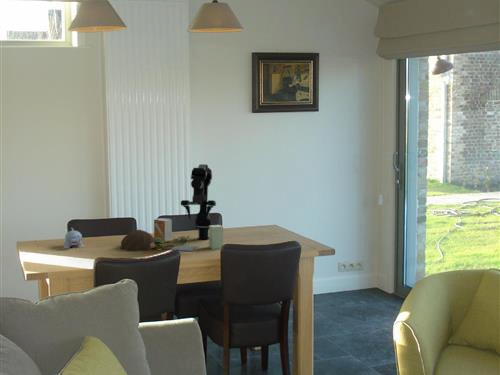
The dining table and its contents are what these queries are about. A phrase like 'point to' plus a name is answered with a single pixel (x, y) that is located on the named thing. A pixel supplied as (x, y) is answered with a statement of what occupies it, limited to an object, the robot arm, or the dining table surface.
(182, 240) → the dining table surface
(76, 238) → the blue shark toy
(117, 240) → the dining table surface
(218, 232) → the sage block
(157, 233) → the small box
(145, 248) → the decorative dome
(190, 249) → the slate mat
